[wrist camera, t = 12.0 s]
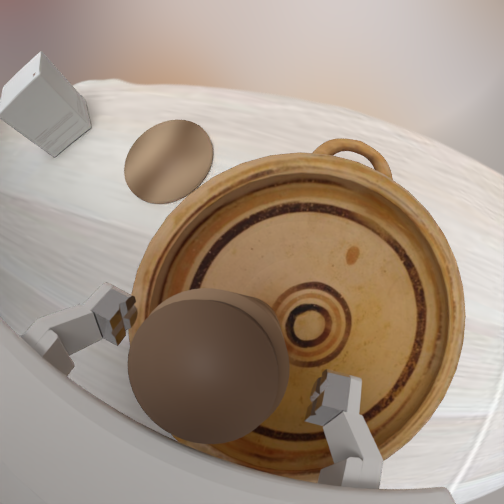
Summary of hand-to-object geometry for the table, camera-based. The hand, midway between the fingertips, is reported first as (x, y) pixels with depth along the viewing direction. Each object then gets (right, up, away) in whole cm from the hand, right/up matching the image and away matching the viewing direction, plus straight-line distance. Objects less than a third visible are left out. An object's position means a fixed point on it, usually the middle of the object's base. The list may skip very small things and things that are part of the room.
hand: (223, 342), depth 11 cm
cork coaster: (-8, +13, +17) cm, 23 cm away
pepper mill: (+1, -1, +6) cm, 6 cm away
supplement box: (-25, +21, +20) cm, 39 cm away
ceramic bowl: (+5, -3, +14) cm, 15 cm away
